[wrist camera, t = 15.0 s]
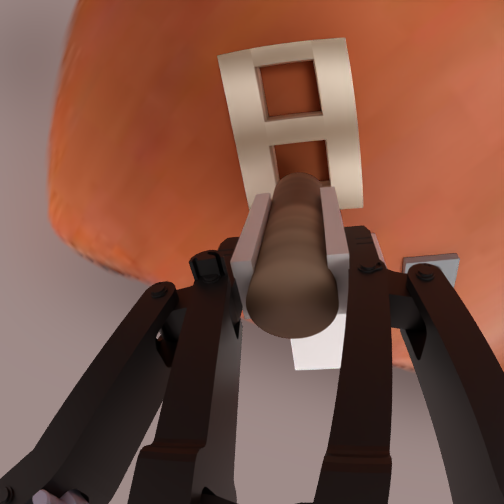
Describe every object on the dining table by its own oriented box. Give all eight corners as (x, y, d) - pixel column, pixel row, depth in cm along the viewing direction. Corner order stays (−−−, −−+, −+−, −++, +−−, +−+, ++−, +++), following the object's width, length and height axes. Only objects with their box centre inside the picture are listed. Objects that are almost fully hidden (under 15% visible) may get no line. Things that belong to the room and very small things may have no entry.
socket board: (226, 57, 22) (217, 55, 19) (340, 41, 20) (345, 37, 17) (256, 202, 28) (250, 217, 26) (357, 193, 26) (363, 207, 24)
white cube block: (289, 239, 30) (283, 294, 23) (374, 233, 28) (392, 286, 21) (299, 311, 34) (295, 370, 28) (372, 306, 32) (382, 364, 26)
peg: (268, 176, 19) (236, 272, 10) (322, 169, 18) (336, 263, 10) (278, 223, 20) (255, 340, 12) (328, 218, 20) (340, 335, 11)
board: (403, 257, 29) (416, 289, 25) (456, 253, 27) (474, 283, 23) (397, 311, 32) (406, 344, 28) (445, 305, 31) (458, 337, 27)
